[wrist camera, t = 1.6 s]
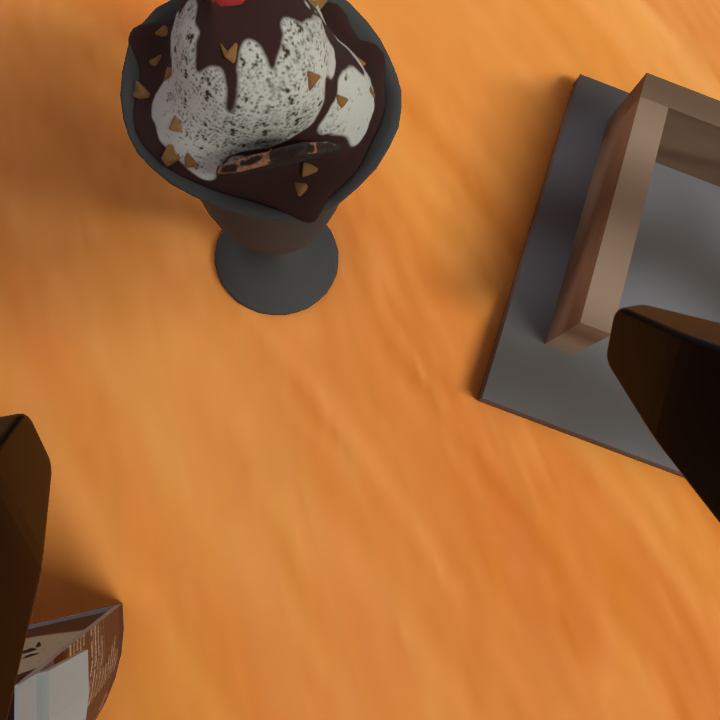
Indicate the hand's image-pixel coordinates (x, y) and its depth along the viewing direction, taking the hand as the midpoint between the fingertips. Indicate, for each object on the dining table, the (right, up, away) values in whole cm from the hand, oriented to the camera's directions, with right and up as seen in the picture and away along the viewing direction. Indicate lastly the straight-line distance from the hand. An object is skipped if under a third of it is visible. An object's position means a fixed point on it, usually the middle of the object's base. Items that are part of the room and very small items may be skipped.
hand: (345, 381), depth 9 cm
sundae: (-3, +4, +15) cm, 16 cm away
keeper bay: (+15, +3, +16) cm, 22 cm away
